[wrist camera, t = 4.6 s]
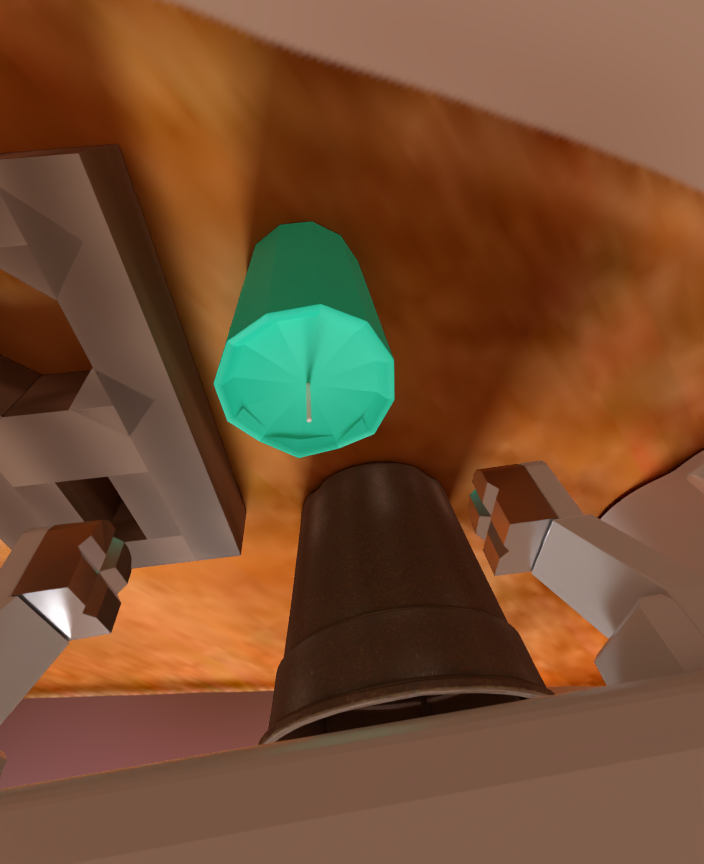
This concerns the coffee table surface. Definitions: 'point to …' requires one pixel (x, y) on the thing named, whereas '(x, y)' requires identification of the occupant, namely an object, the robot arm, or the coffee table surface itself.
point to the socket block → (106, 374)
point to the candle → (305, 346)
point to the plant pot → (390, 612)
